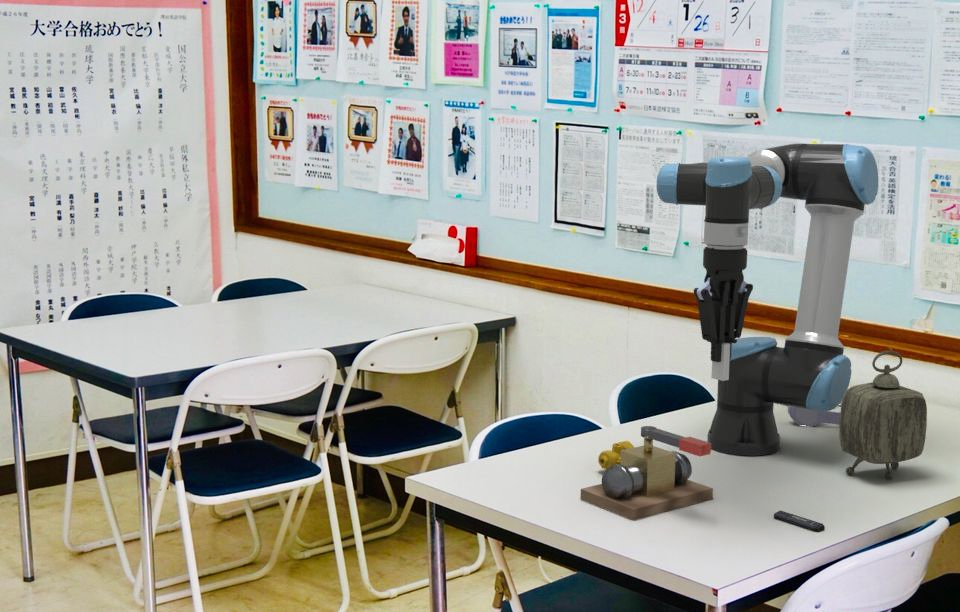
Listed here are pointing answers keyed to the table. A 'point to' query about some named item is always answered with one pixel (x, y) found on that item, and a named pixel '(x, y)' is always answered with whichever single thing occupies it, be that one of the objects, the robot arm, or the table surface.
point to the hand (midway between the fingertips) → (719, 378)
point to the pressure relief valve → (613, 454)
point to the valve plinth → (648, 500)
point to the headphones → (813, 416)
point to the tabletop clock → (882, 421)
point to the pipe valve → (646, 472)
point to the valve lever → (677, 441)
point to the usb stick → (799, 521)
